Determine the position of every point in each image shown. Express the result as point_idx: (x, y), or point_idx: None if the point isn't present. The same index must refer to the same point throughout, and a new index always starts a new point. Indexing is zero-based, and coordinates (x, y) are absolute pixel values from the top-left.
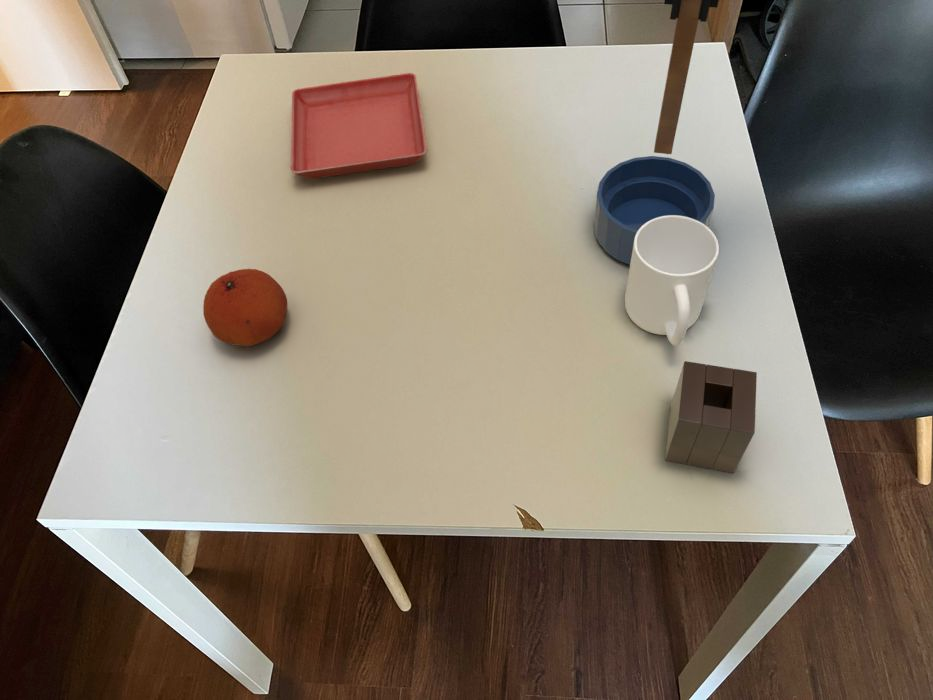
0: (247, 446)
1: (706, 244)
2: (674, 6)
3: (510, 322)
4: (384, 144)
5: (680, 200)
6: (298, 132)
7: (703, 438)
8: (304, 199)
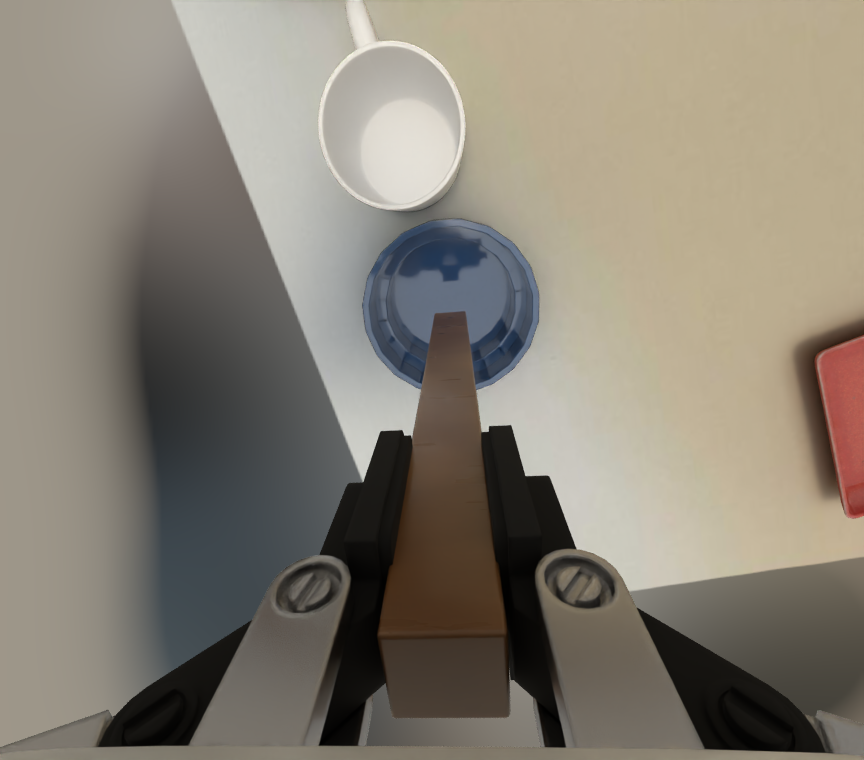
0: None
1: (349, 182)
2: (507, 448)
3: (625, 53)
4: None
5: (417, 350)
6: None
7: None
8: None
